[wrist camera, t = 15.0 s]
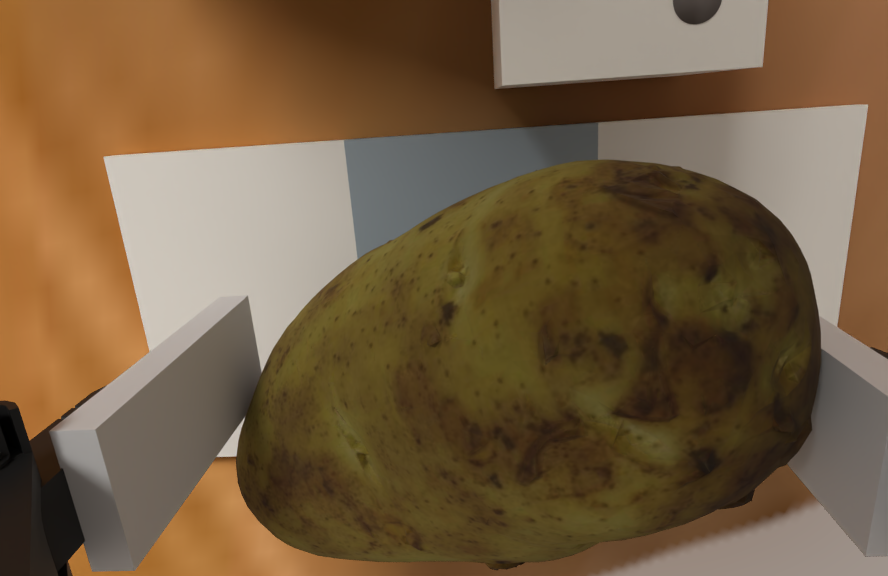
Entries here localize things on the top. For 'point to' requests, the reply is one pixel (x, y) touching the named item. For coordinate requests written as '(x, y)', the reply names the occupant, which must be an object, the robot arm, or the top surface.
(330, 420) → the potato
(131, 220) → the track
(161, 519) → the robot arm
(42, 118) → the top surface
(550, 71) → the die
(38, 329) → the top surface
